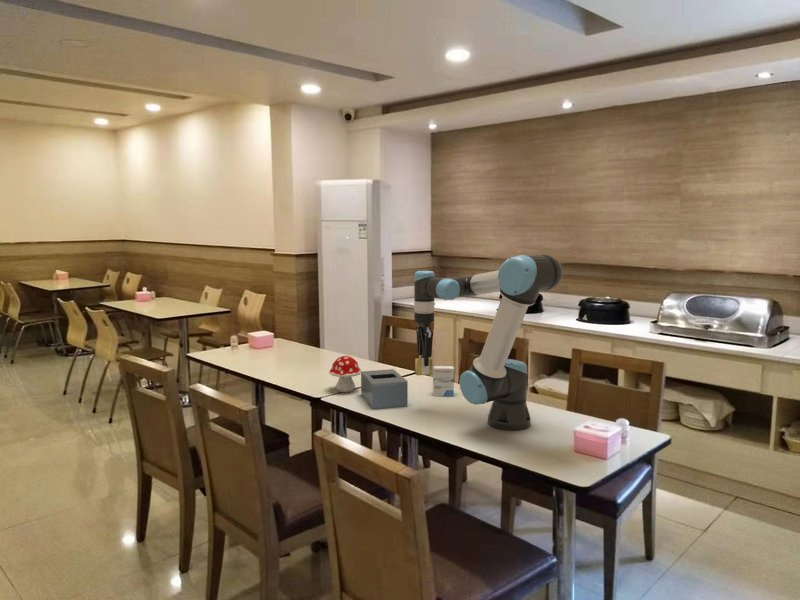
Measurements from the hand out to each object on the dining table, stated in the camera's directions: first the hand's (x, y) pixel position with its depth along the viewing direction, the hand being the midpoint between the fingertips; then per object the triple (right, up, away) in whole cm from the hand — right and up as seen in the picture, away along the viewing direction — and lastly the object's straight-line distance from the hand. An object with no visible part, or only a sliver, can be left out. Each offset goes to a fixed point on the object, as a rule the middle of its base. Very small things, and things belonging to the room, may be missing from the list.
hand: (424, 372), depth 226 cm
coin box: (-16, -13, +13) cm, 24 cm away
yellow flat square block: (0, -1, 0) cm, 1 cm away
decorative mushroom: (-32, -11, +27) cm, 43 cm away
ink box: (+9, -12, +21) cm, 26 cm away
